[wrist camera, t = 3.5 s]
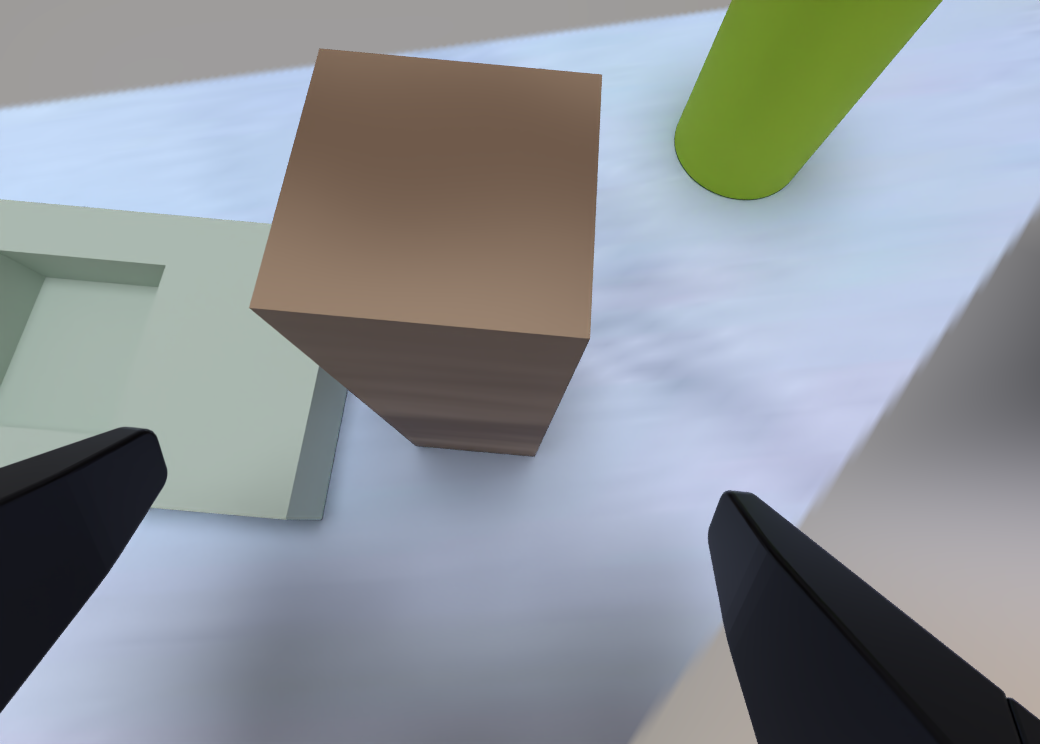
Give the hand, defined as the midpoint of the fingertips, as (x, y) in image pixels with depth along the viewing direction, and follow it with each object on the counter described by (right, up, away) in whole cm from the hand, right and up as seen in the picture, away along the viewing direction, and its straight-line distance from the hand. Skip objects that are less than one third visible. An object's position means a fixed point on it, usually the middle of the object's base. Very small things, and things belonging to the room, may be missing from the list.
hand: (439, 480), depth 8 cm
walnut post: (0, +1, +11) cm, 11 cm away
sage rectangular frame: (-14, +2, +11) cm, 18 cm away
